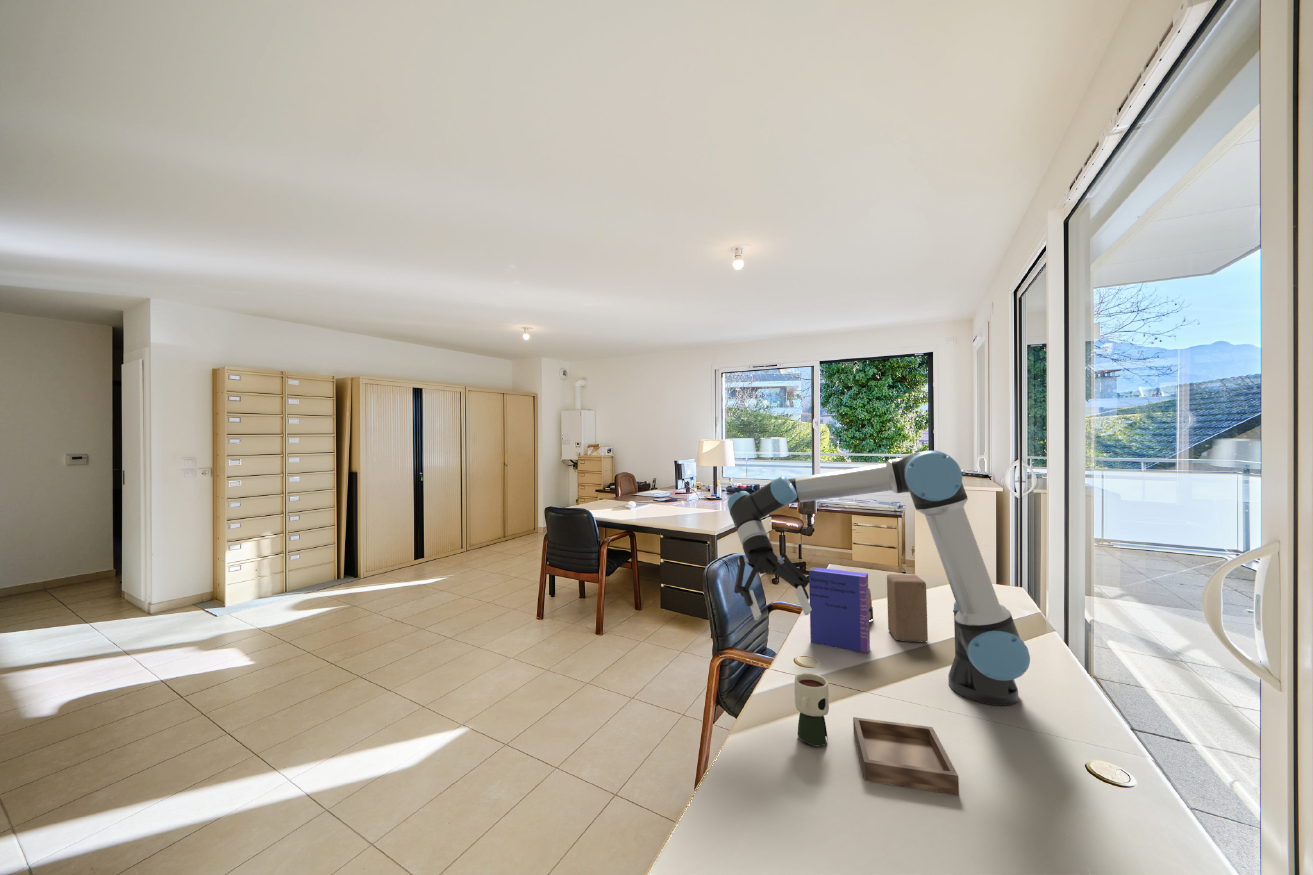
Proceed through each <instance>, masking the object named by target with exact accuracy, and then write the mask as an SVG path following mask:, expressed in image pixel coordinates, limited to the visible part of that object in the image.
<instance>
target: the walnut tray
mask: <svg viewBox="0 0 1313 875" xmlns="http://www.w3.org/2000/svg"><path fill="white" fill-rule="evenodd" d="M852 722H853V724H852V725H853V727H852V728H853V731H852V732H853V737H854V741H855V746H856V748H857V754H858V758H859V762H860V766H861V771H862V774H863V779H864V781H865V782H866V781H867V782H872V783H878V784H884V785H885V784H886V785H891V786H898V787H904V788H908V789H909V788H910V789H916V790H921V791H922V790H924V791H929V792H934V793H941V794H942V793H943V794H947V795H948V794H949V795H953V796H960V789H959V788H960V785H959V784H960V782H959V780H960V779H959V774H958V772H957V771H956V768H955V766H954V765H953V763H952V761H951V759H950V757H949V755H948V753H947V751H946V749H945V748H944V746H943V744H942V741H941V740H940V739H939V736H938V735H937V733H936V731H935V729H934V727H933V726H926V725H921V724H912V723H903V722H894V721H887V720H881V719H871V718H862V717H856V716H855V717H854V716H853V717H852Z"/></svg>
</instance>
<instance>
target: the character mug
mask: <svg viewBox="0 0 1313 875" xmlns="http://www.w3.org/2000/svg"><path fill="white" fill-rule="evenodd" d="M829 694H830V692H829V681H828V680H827V679H826V677H824V676H822V675H819V674H817V673H812V672H802V673H798V674H796V675H795V677H794V706H795V709H796V710H797V711H798V712H799V717H798V722H797V723H798V725H797V738H799V740H801V741H802V742H804V743H807V744H809V745H811V746H814V747H822V746H824V745H827V741H828V740H829V738H828V731H827V724H826V720H825V716H826V715H828V714H829V710H830V703H829V702H830V701H829Z"/></svg>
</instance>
